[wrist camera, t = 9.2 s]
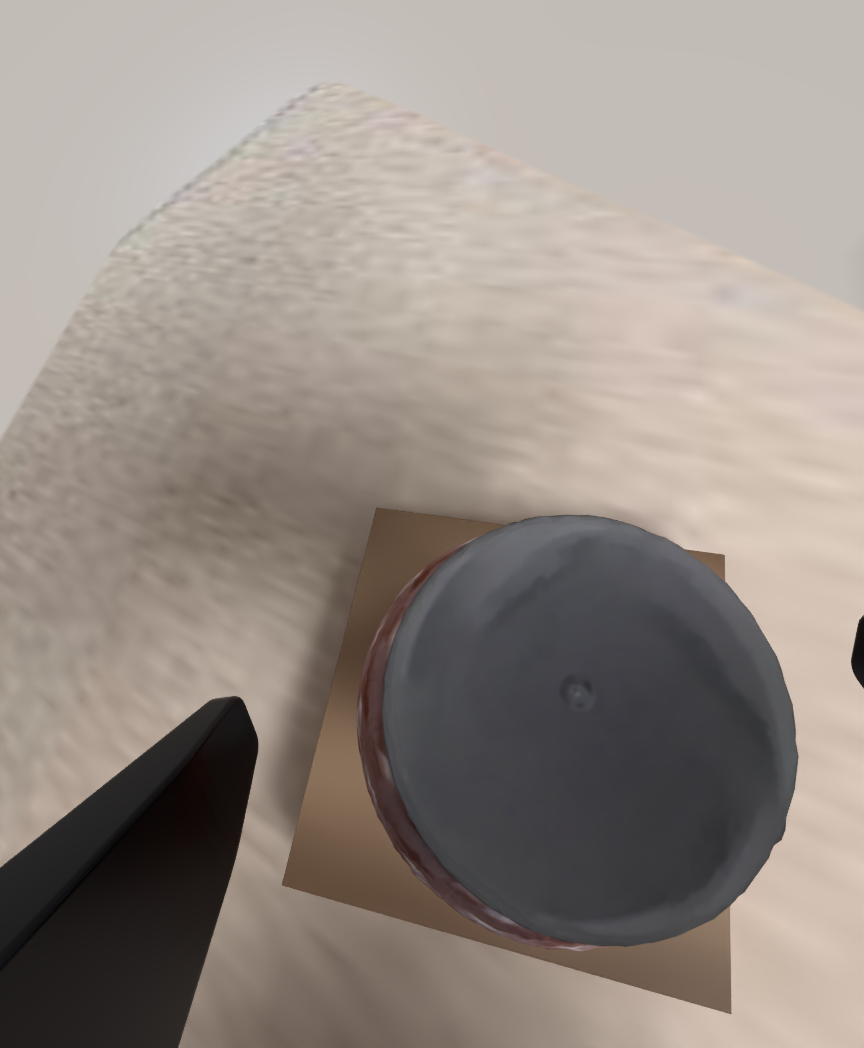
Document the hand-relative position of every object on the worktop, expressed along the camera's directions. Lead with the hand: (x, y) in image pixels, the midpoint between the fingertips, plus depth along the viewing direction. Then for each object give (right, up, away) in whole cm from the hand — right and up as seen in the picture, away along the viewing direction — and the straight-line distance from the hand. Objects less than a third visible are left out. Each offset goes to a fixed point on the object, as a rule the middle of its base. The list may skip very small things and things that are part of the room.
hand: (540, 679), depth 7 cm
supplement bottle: (+1, -4, +8) cm, 9 cm away
